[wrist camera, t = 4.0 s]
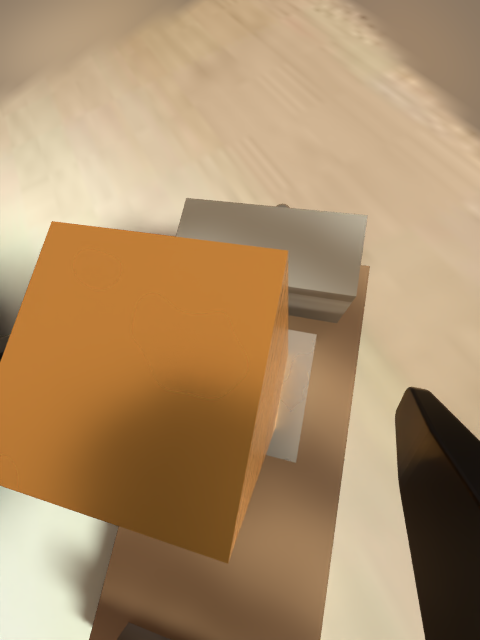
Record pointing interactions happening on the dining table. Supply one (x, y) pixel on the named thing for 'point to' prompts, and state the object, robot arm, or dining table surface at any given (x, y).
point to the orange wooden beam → (152, 381)
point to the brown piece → (276, 474)
